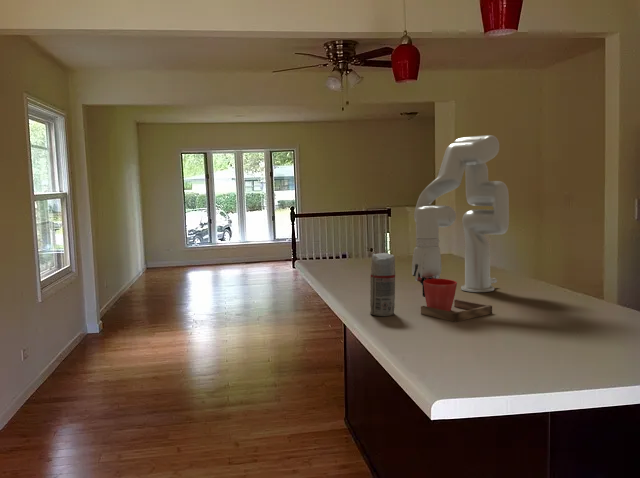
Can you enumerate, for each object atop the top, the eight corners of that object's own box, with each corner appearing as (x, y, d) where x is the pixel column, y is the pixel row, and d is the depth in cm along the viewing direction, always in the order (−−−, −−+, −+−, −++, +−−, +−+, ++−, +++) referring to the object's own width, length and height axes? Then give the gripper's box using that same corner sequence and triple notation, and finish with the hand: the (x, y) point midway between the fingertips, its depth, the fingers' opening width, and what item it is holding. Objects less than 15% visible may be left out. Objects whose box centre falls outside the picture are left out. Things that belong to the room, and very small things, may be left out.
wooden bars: (456, 306, 198) (456, 299, 198) (492, 313, 186) (492, 305, 186) (420, 313, 188) (420, 306, 187) (455, 321, 176) (455, 313, 176)
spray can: (398, 312, 191) (397, 252, 189) (393, 317, 184) (392, 255, 182) (373, 310, 194) (372, 251, 192) (367, 316, 186) (366, 254, 184)
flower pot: (421, 305, 198) (422, 277, 196) (454, 306, 196) (455, 278, 195) (422, 313, 187) (424, 284, 186) (457, 314, 186) (458, 285, 184)
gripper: (434, 241, 202) (434, 292, 204) (403, 244, 194) (403, 298, 195) (450, 242, 196) (451, 295, 198) (419, 245, 187) (419, 301, 189)
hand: (427, 296), depth 196 cm, fingers closed
